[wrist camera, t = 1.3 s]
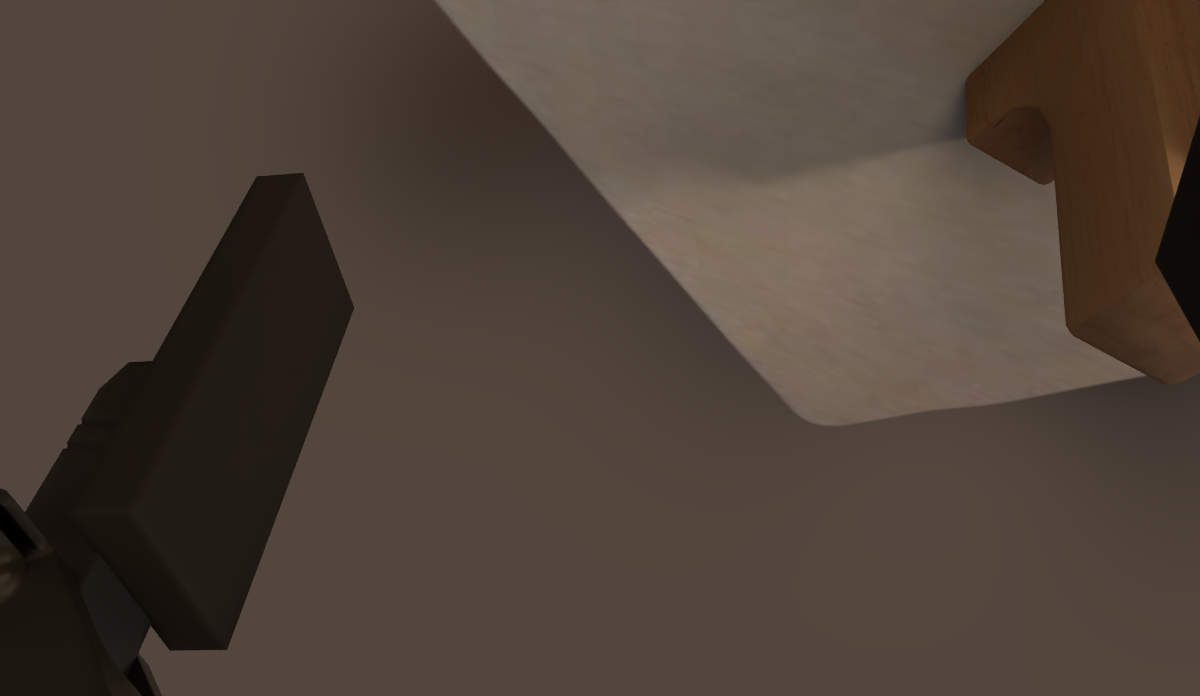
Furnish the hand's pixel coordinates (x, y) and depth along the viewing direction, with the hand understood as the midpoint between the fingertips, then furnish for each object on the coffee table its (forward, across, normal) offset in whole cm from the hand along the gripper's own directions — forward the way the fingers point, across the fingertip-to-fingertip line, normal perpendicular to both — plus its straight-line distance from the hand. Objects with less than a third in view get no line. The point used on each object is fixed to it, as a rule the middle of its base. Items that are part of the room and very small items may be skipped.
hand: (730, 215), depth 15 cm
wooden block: (+29, +15, -12) cm, 35 cm away
